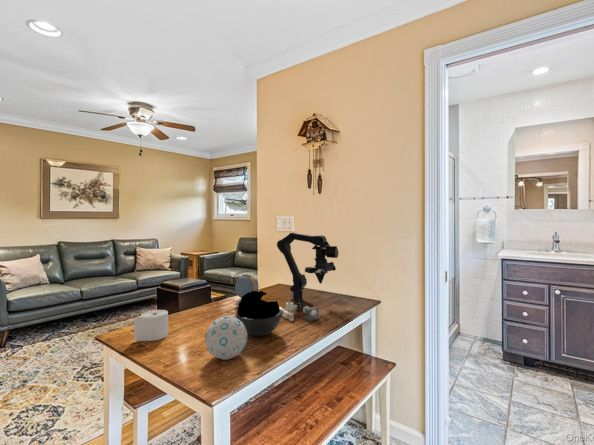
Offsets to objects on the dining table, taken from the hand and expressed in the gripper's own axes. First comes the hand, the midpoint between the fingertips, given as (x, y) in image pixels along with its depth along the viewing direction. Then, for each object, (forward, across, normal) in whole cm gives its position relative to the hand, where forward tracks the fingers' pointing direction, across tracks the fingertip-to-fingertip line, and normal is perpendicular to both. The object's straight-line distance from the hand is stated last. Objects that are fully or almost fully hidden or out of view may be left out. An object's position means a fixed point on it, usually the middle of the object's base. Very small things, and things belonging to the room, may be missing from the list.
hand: (320, 283), depth 179 cm
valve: (+12, -22, -6) cm, 26 cm away
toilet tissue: (+12, -90, -1) cm, 91 cm away
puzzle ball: (+12, -69, -36) cm, 79 cm away
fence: (+12, -29, -7) cm, 32 cm away
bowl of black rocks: (+12, -50, -23) cm, 56 cm away
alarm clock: (+12, -37, +23) cm, 45 cm away
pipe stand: (+12, -20, -18) cm, 29 cm away
